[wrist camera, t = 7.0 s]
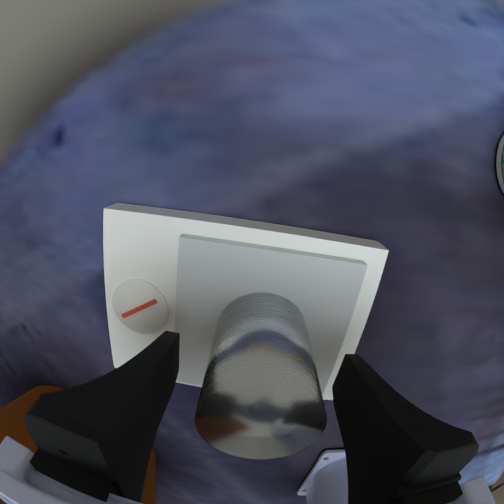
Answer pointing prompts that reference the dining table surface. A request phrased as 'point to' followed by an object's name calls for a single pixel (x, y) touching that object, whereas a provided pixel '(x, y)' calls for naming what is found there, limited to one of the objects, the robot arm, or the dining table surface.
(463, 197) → the dining table surface
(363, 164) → the dining table surface
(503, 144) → the supplement bottle
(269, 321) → the cylinder
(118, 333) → the scale
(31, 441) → the flower pot
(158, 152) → the dining table surface
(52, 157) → the dining table surface
